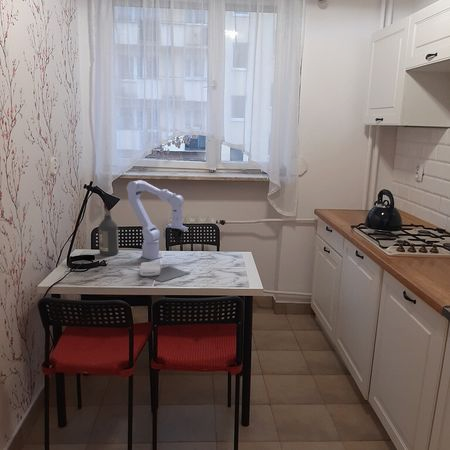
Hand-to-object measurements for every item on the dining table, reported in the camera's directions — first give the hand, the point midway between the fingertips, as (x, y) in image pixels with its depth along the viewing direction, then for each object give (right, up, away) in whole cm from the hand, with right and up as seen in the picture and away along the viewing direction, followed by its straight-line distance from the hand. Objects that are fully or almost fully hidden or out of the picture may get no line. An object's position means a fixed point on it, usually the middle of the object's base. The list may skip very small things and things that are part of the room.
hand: (177, 242), depth 241 cm
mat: (-4, -15, -21) cm, 26 cm away
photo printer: (-12, -11, -16) cm, 23 cm away
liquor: (-40, -7, +13) cm, 43 cm away
